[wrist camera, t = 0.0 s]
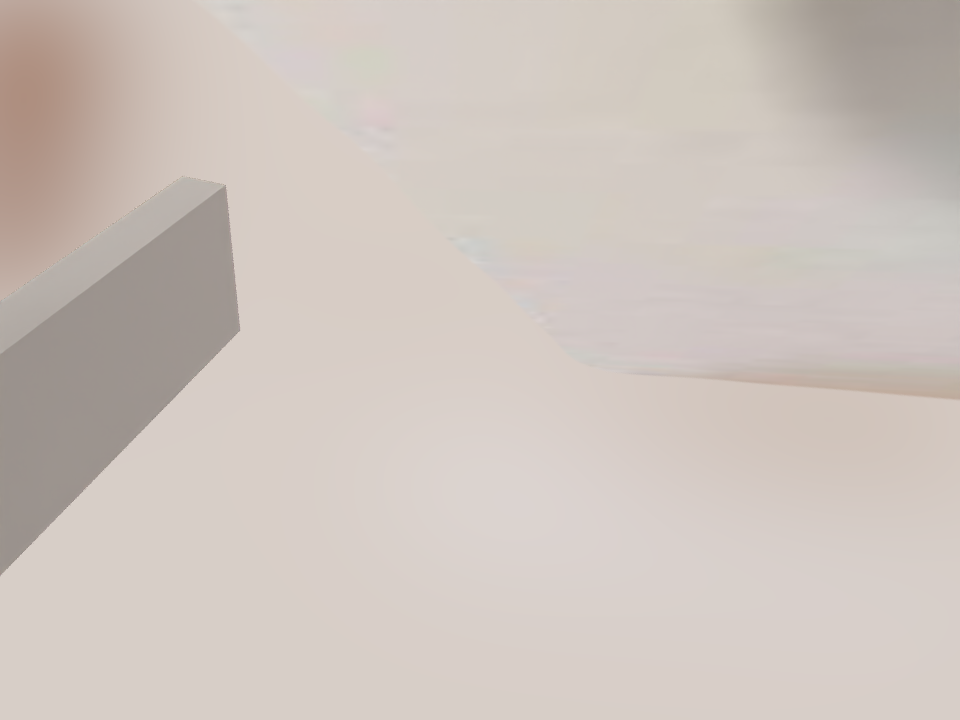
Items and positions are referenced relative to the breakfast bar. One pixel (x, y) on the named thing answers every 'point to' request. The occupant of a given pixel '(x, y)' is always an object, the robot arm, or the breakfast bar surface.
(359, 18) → the breakfast bar surface
